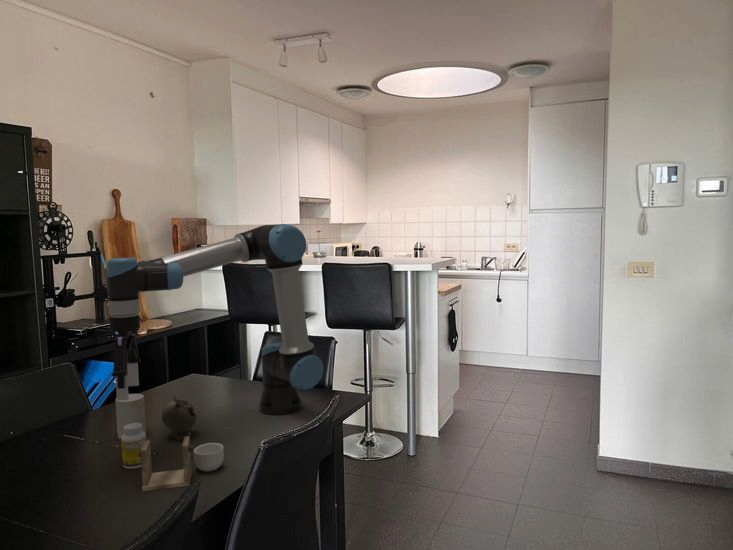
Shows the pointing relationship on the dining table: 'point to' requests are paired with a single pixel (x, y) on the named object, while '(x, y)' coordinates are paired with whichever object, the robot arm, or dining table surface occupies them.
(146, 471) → the holder
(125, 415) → the white cylinder
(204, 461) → the teacup
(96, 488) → the dining table surface
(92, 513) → the dining table surface
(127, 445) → the pill bottle
